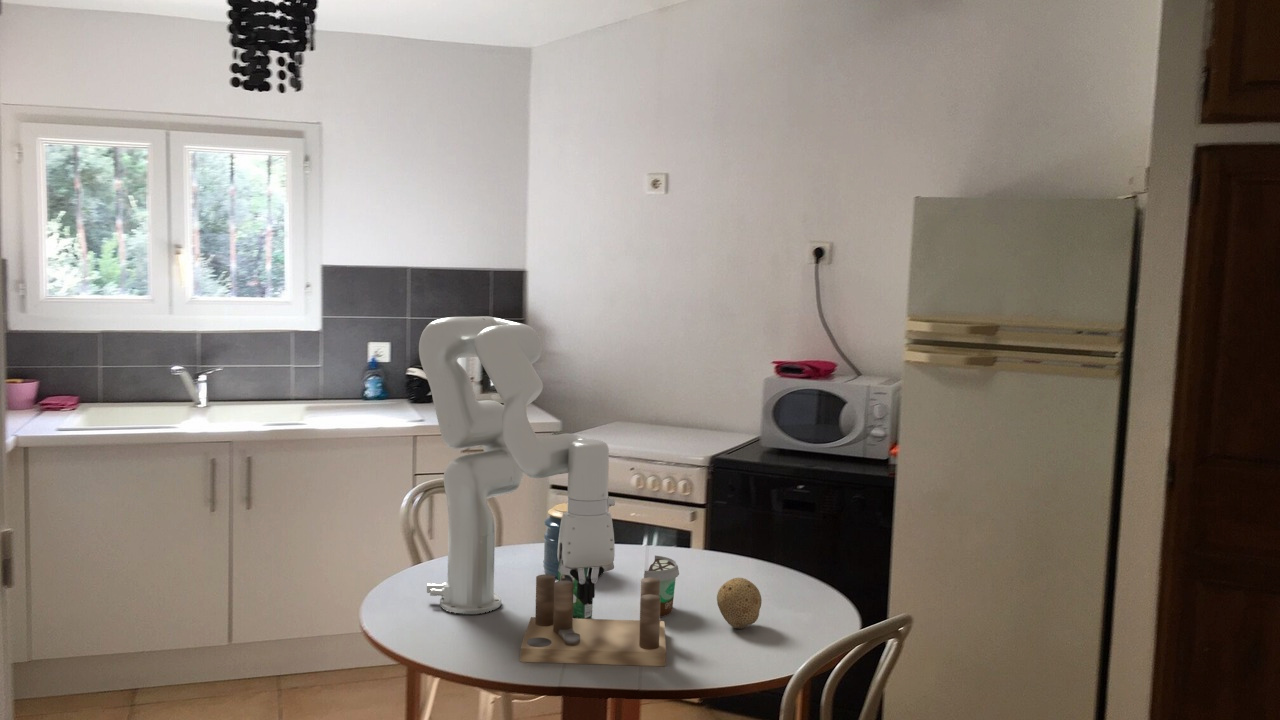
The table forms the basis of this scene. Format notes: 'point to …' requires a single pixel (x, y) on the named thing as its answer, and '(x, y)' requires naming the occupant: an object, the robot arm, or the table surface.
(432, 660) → the table surface
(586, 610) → the coffee box
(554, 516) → the canister
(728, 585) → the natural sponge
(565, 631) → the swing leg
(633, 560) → the table surface
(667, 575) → the food container
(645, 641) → the wooden peg board
